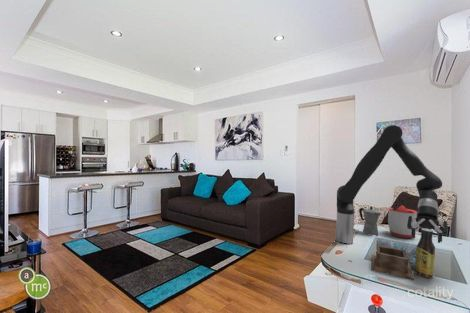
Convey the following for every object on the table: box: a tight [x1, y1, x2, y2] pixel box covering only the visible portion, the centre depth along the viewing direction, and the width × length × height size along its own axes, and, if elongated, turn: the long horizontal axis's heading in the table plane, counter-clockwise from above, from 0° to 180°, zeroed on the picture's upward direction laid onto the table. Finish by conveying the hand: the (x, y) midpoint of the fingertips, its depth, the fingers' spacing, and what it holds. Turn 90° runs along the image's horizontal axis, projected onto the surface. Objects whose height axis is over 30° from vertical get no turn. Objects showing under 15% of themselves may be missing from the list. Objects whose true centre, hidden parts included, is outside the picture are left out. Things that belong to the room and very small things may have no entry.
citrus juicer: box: [387, 205, 418, 239], centre depth 152 cm, size 16×17×20 cm
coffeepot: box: [358, 206, 382, 236], centre depth 155 cm, size 15×9×18 cm, turn 25°
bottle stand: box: [371, 244, 415, 281], centre depth 105 cm, size 15×16×7 cm
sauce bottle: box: [414, 227, 436, 279], centre depth 99 cm, size 7×6×20 cm
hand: (426, 239), depth 103 cm, fingers open, 8 cm apart
